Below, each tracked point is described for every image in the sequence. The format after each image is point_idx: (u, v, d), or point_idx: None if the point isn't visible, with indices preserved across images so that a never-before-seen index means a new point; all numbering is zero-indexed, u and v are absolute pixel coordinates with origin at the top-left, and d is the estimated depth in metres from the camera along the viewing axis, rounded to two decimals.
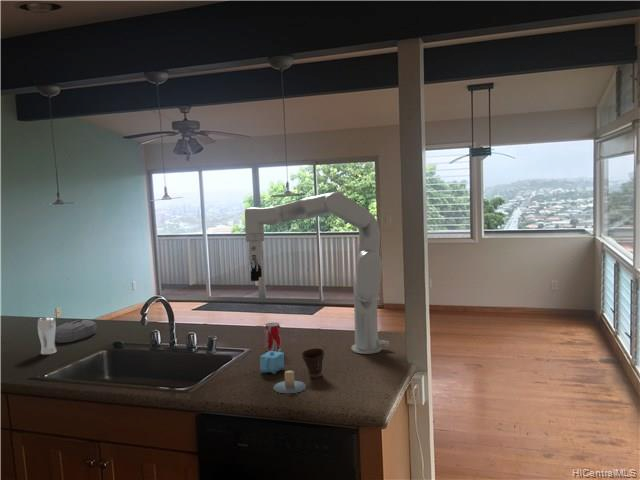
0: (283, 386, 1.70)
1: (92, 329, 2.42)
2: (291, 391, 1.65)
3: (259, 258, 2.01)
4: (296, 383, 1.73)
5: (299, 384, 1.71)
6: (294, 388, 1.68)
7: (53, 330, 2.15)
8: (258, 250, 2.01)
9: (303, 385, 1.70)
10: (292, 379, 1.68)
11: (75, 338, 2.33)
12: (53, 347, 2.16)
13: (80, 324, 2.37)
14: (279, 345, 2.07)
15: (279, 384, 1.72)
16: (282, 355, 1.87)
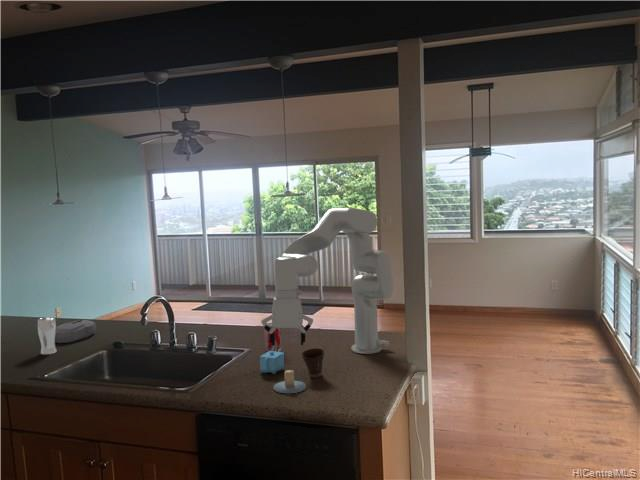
0: (283, 386, 1.70)
1: (91, 329, 2.41)
2: (292, 390, 1.65)
3: None
4: (295, 382, 1.73)
5: (299, 383, 1.71)
6: (294, 387, 1.68)
7: (53, 330, 2.15)
8: None
9: (303, 384, 1.70)
10: (292, 378, 1.68)
11: (75, 338, 2.33)
12: (53, 347, 2.16)
13: (79, 324, 2.37)
14: (279, 345, 2.07)
15: (279, 384, 1.71)
16: (282, 355, 1.87)
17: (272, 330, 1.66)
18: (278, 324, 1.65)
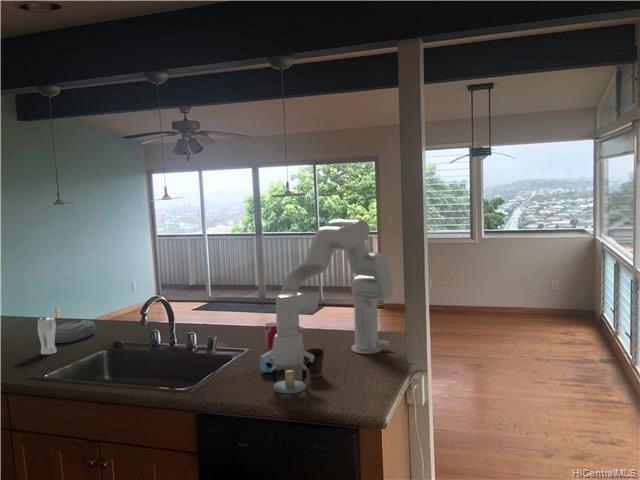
0: (283, 386, 1.69)
1: (91, 329, 2.41)
2: (292, 390, 1.65)
3: None
4: (295, 382, 1.73)
5: (299, 383, 1.72)
6: (295, 387, 1.68)
7: (53, 330, 2.15)
8: (302, 343, 1.70)
9: (303, 384, 1.71)
10: (293, 378, 1.68)
11: (75, 338, 2.33)
12: (53, 347, 2.16)
13: (79, 324, 2.37)
14: None
15: (278, 384, 1.71)
16: None
17: (274, 367, 1.68)
18: (280, 361, 1.67)
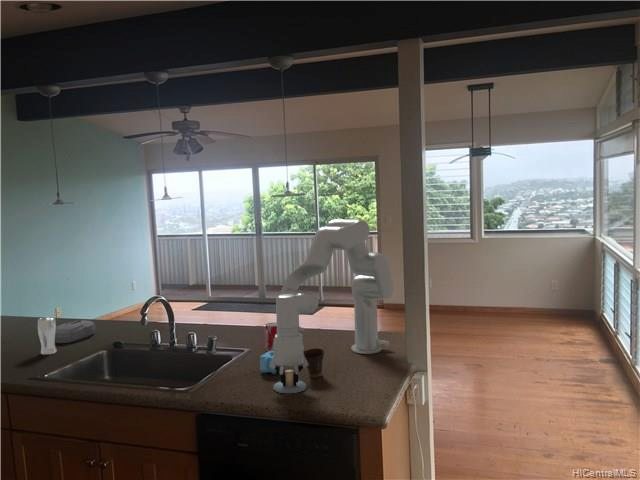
0: (283, 386, 1.69)
1: (91, 329, 2.41)
2: (293, 390, 1.65)
3: None
4: None
5: (298, 383, 1.72)
6: (295, 387, 1.68)
7: (53, 330, 2.15)
8: (302, 343, 1.70)
9: (303, 383, 1.71)
10: (293, 378, 1.68)
11: (74, 338, 2.32)
12: (53, 347, 2.16)
13: (79, 324, 2.37)
14: None
15: (278, 384, 1.71)
16: None
17: (283, 371, 1.68)
18: (280, 361, 1.67)
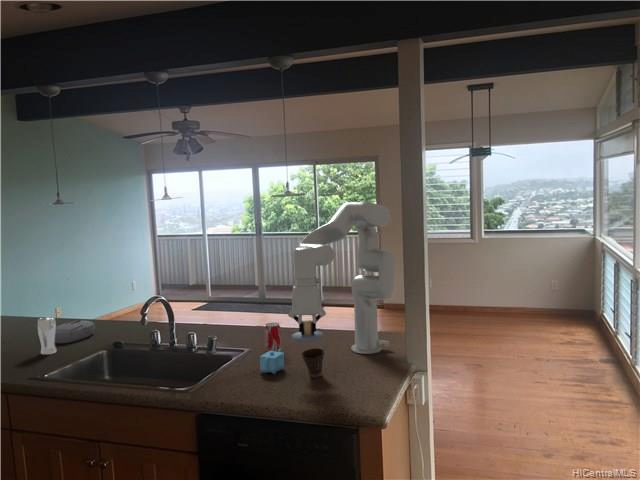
0: (301, 335, 1.76)
1: (90, 329, 2.41)
2: (312, 338, 1.72)
3: None
4: None
5: (316, 332, 1.78)
6: (313, 336, 1.75)
7: (53, 330, 2.15)
8: None
9: (320, 333, 1.78)
10: (310, 327, 1.75)
11: (74, 338, 2.32)
12: (53, 347, 2.16)
13: (78, 325, 2.37)
14: (279, 345, 2.07)
15: (296, 334, 1.78)
16: (282, 355, 1.87)
17: (301, 320, 1.74)
18: (298, 311, 1.73)
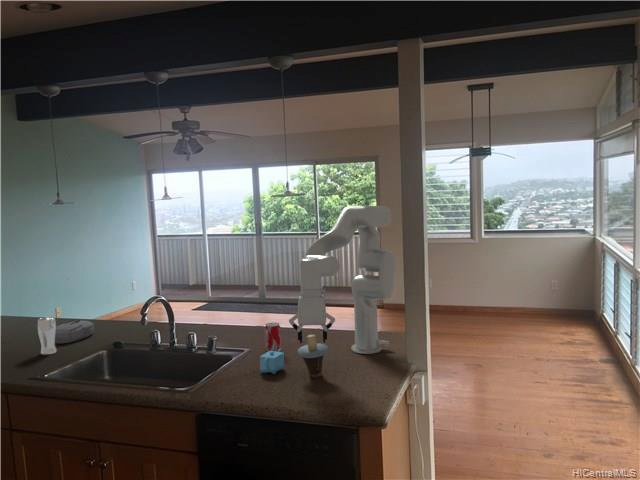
0: (306, 350, 1.78)
1: (90, 330, 2.40)
2: (317, 353, 1.75)
3: None
4: (317, 345, 1.82)
5: (320, 346, 1.81)
6: (318, 350, 1.77)
7: (53, 330, 2.15)
8: None
9: (325, 346, 1.80)
10: (315, 342, 1.77)
11: (73, 339, 2.32)
12: (53, 347, 2.16)
13: (78, 325, 2.36)
14: (279, 345, 2.07)
15: (301, 349, 1.80)
16: (282, 355, 1.87)
17: (300, 328, 1.77)
18: (304, 321, 1.76)
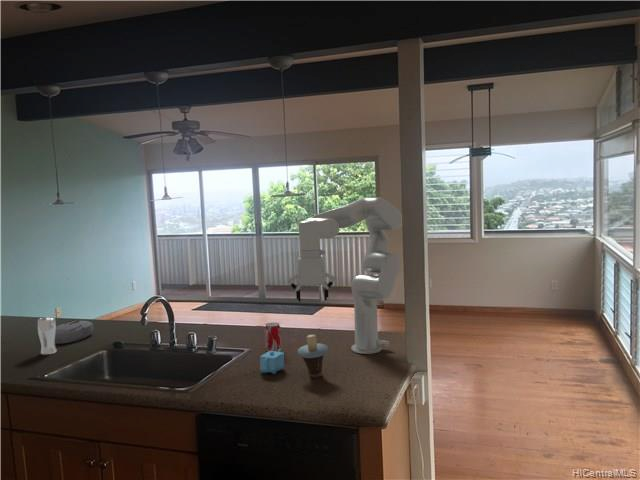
0: (306, 350, 1.78)
1: (89, 330, 2.40)
2: (317, 353, 1.75)
3: None
4: (317, 345, 1.82)
5: (320, 346, 1.81)
6: (318, 350, 1.77)
7: (53, 330, 2.15)
8: None
9: (325, 346, 1.80)
10: (315, 342, 1.77)
11: (73, 339, 2.32)
12: (53, 347, 2.16)
13: (77, 325, 2.36)
14: (279, 345, 2.07)
15: (301, 349, 1.80)
16: (282, 355, 1.87)
17: (298, 287, 1.82)
18: (304, 281, 1.81)
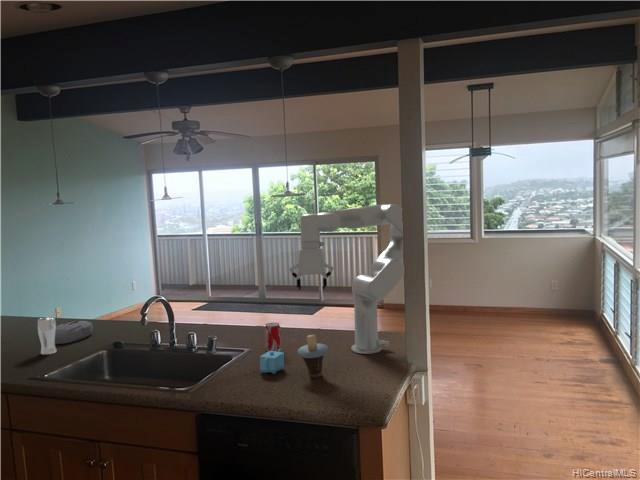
0: (306, 350, 1.78)
1: (89, 330, 2.40)
2: (317, 353, 1.75)
3: None
4: (317, 345, 1.82)
5: (320, 346, 1.81)
6: (318, 350, 1.77)
7: (53, 330, 2.15)
8: None
9: (325, 346, 1.80)
10: (315, 342, 1.77)
11: (72, 339, 2.31)
12: (53, 347, 2.16)
13: (77, 325, 2.36)
14: (279, 345, 2.07)
15: (301, 349, 1.80)
16: (282, 355, 1.87)
17: (298, 276, 1.95)
18: (304, 271, 1.94)
